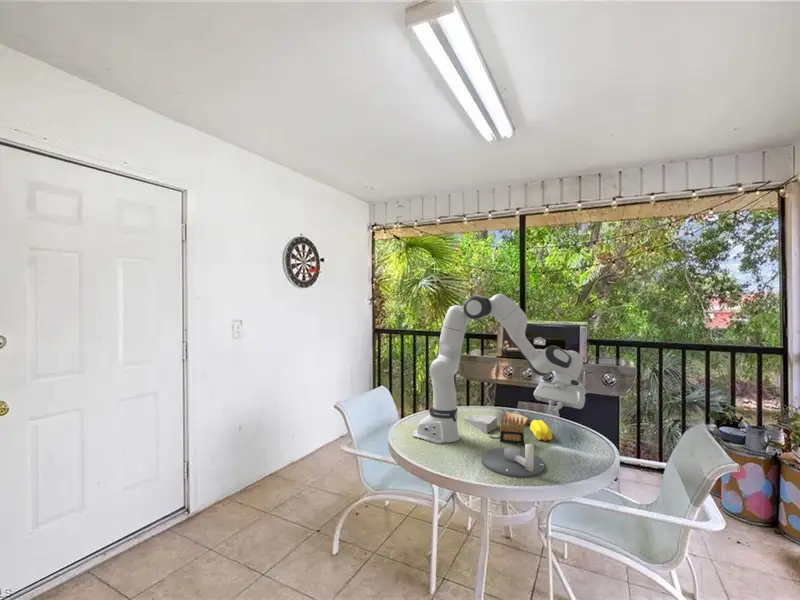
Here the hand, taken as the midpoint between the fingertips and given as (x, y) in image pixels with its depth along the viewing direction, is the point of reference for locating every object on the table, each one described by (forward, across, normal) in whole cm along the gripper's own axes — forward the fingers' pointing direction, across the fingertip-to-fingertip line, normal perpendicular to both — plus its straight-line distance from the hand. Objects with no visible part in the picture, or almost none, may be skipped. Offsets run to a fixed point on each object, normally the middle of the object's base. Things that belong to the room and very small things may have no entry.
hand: (552, 411), depth 153 cm
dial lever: (+24, -5, +2) cm, 25 cm away
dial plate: (+24, -10, +4) cm, 27 cm away
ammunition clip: (+10, -22, +19) cm, 31 cm away
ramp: (+3, -47, +26) cm, 54 cm away
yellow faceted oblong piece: (-3, -18, +32) cm, 37 cm away
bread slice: (-11, -39, +40) cm, 57 cm away
